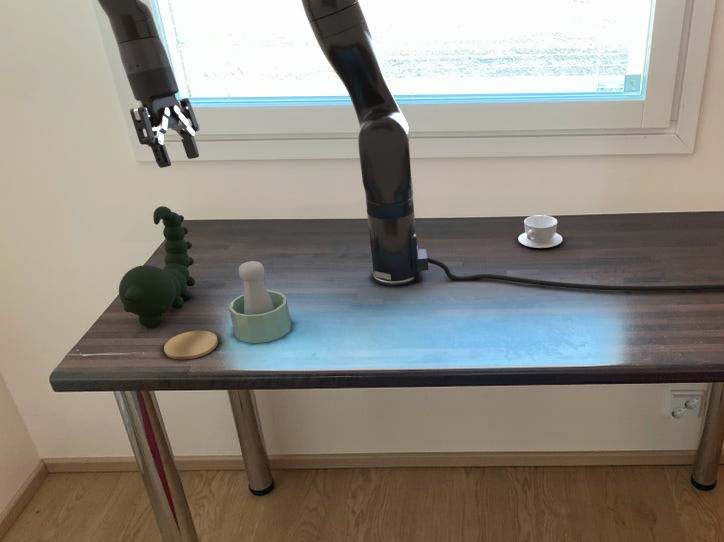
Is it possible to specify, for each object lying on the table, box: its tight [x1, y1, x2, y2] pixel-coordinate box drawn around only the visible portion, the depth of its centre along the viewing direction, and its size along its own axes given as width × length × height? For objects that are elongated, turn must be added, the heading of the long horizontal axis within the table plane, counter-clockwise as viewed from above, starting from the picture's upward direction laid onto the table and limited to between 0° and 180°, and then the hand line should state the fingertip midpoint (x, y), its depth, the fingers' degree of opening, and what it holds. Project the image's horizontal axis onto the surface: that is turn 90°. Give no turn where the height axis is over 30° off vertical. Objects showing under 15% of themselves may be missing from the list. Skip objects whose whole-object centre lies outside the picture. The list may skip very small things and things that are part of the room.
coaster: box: [163, 330, 219, 361], centre depth 131 cm, size 9×9×1 cm
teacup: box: [517, 214, 563, 249], centre depth 166 cm, size 10×10×5 cm
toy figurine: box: [118, 205, 196, 328], centre depth 138 cm, size 9×19×25 cm
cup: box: [228, 289, 292, 344], centre depth 134 cm, size 10×10×6 cm
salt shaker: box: [238, 260, 275, 315], centre depth 132 cm, size 6×6×13 cm
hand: (180, 162), depth 135 cm, fingers open, 8 cm apart
